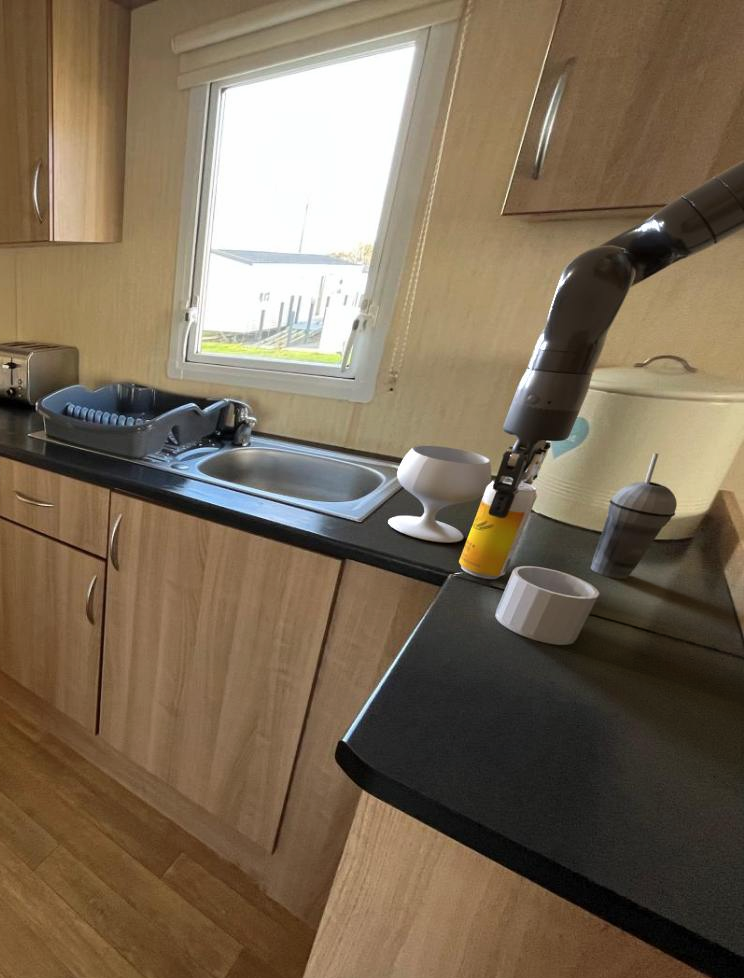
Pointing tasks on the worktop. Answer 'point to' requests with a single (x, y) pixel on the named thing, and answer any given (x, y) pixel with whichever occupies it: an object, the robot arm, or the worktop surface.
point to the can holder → (546, 604)
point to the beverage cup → (632, 525)
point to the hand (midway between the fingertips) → (503, 511)
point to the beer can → (496, 534)
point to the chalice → (440, 488)
